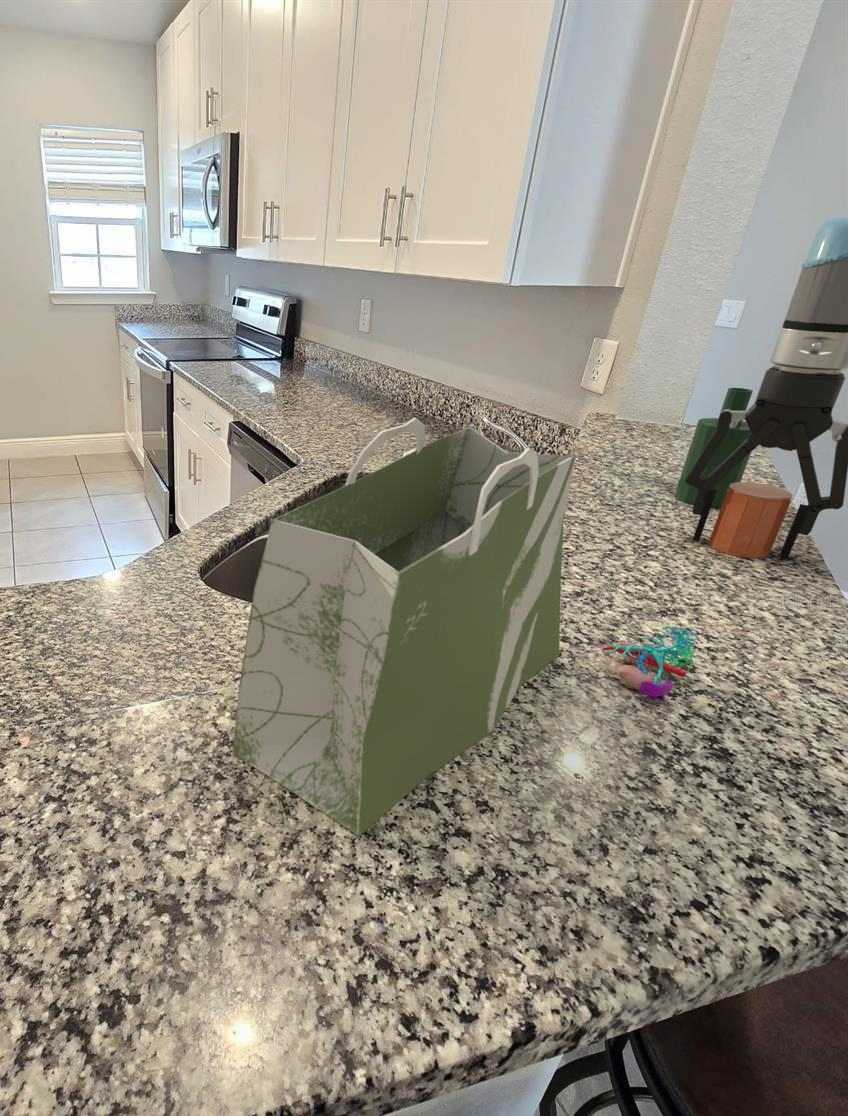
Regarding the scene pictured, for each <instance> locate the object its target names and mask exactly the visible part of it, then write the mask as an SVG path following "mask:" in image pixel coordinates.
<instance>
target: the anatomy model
mask: <svg viewBox="0 0 848 1116" xmlns="http://www.w3.org/2000/svg"><path fill="white" fill-rule="evenodd" d="M661 629H662V630H664V631H665V632H664V635H663V637H660V636H659V632H656V633H655V637H656V638H658V640H659V641H660V642H659V641H657V640H656V639H654V638H653V637H652V636H651V638H650V637H649V638H648V637H645V636H644V637H642V639H643V640H649V641H652V642H654V643H649V642H647V643H644V642H642V646H640V645H639V644H636V643H633V642H630V641H618V642H617V643H616V644H615V643H611V642H608V641H604V642H603V643H604V646H606V647H603V648H602V650H601V651H602V652H603V651H604V652H605V651H606V653H607V654H609V653H612V652H617V653H618V654H620V655H621V656H622V658H623V659H624V660H628V661H629V662H631V663H632V664H635V665H636V666H635V665H628V664H623V665H620V666H619V667H618V668H617V673H618V675H619V677H620V678H621V679H623V681H624V682H626V683H628V684H629V685H631V686H633V687H634V688H636V689H639V690H640V691H641V692H642V693H643V694H644V695H645V696H647V697H649V698H657V697H663V696H665V695H666V694H668V692H669V691H670V690H672V689H673V687H674V686H675V683H674V682H672V681H671V680H668V679H665V680H664V681H663V682H662V677H661V675H662V674H664V675H665V674H666V672H668V673H670V674H674V675H676V676H678V677H680V678H682V679H684V678H685V677H686V673H687V672H686V671H685V670H682V665H684V664H691V663H693V661H692V659H693V658H696V656H695V655H694V654H695V653H696V651H697V650H696V649H692V648H694V646H696V645H697V643H696V642H695V641H698V640H699V639H698V638H691V639H690V637H695V636H696V637H699V635H697V634H695V633H694V632H693V631H694V630H693V629H691V630H689V631H688V630H687V631H686V629H687V628H686V627H685V628H682V627H677V628H676V627H674V626H672V627H671V626H668V625H666V626H663V627H662V628H661ZM668 629H671V631H669V630H668ZM666 633H668V634H669V635H670V637H671V639H673V640H675V642H672V645H671V646H669V647H668V646H667V645H665V641H663V640H664V639H665V638H666V637H667V636H668V635H667V634H666ZM655 643H656V644H655ZM680 657H681V658H680ZM668 661H670V662H668ZM647 669H648V670H649V671H648V670H647ZM651 669H652V670H658V671H657V672H658V673H656V672H654V671H650V670H651Z"/></svg>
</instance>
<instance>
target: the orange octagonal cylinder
mask: <svg viewBox="0 0 848 1116" xmlns="http://www.w3.org/2000/svg"><path fill="white" fill-rule="evenodd" d="M792 498H793V493H792V492H791V491H788V490H787V489H784V488H781V487H778V486H774V485H770V484H764V483H758V482H750V481H749V482H748V481H741V482H736V483H731V484H730V485H729V487H728V490H727V492H726V495H725V498H724V501H723V504H722V506H721V508H719V512H718V515H717V518H716V520H715V524H714V526H713V530H712V532H711V534H710V537H709V541H708V543H707V544H708V545H709V546H710V547H712V548H713V549H714V550H716V551H720V552H722V553H724V554H726V555H731V556H736V557H740V558H745V559H762V558H763V559H764V558H767V557H769V556H770V554H771V551H772V549H773V546H774V543H775V541H776V539H777V536H778V534H779V531H780V529H781V527H782V524H783V522H784V519H785V517H786V515H787V512H788V509H789V507H790V505H791V502H792Z"/></svg>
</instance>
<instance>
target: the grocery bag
mask: <svg viewBox="0 0 848 1116" xmlns="http://www.w3.org/2000/svg"><path fill="white" fill-rule="evenodd" d="M409 432H411V433H413V434H414V435H415V439H416V441H415V442H416V445H415V450H414V451H412V452H410V453H408V454H407V455H404V456H402V457H401V458H399V459H396V460H395V461H393V462H391V463H388V464H387V465H385V466H382V467H381V468H379V469H377V470H374V471H372V472H370V473H369V474H366V475H365V476H363V477H360V478H358V474H359V472H360V471H361V469H362V468H363V465H365V464H364V463H366V461H367V459H368V458H369V457H370V456H371V455H372V454H373V453H374V452H375V451H376V450H377V449H378V448H379V447H380V446H381V445H382V444H383V443H385V442H387V441H388V440H389V439H392V438H393V437H395V436H397V435H399V434H404V433H409ZM576 459H577V455H570V454H569V455H567V454H565V455H564V454H545V453H543V454H541V453H535V452H534V451H533V450H532V449H531V448H528V447H527V448H526V449H524V451H523V452H521V453H518V452H508V451H506V450H505V449H503V448H502V447H501V446H499V445H498V444H496V443H495V442H493V441H491V440H490V439H489V438H487V437H486V436H484V435H483V434H481V433H480V432H478V431H477V430H476V429H474V428H473V427H472V426H471V427H470V426H469V427H466V428H464V429H462V430H459V431H456V432H454V433H451V434H448V435H446V436H443V437H441V438H438V439H435V440H433V441H431V442H429V443H427V444H426V425H425V424H424V423H423V421H421V420H419V419H418V418H417V417H413V418H411V419H410V420H408V421H407V422H406V423H404V424H402V425H398V426H395V427H392V428H387V429H384V430H381V431H379V432H378V434H376V436H375V437H373V439H372V440H371V441H370V442H369V443H368V444H367V445H366V446H365V447H363V449H362V450H361V451H360V453H359V455H358V457H357V458H356V460H355V462H354V464H353V466H352V467H351V469H350V471H349V472H348V475H347V477H346V481H345V484H344V485H343V486H342V487H340V488H338V489H335V490H333V491H331V492H329V493H327V494H325V495H322V496H320V497H318V498H316V499H314V500H312V501H310V502H308V503H305V504H303V505H301V506H299V507H297V508H295V509H292V510H290V511H288V512H286V513H284V514H282V515H280V516H277V517H275V518H274V519H273V518H272V520H271V523H270V527H269V531H268V534H267V539H266V542H265V546H264V550H263V554H262V558H261V562H260V566H259V569H258V572H257V577H256V580H255V584H254V589H253V592H252V599H251V608H250V613H249V620H248V625H247V631H246V632H247V633H246V637H245V638H246V639H245V645H244V651H243V652H244V653H243V658H242V664H241V671H240V678H239V687H238V697H237V704H236V706H237V707H236V715H235V725H234V733H233V734H234V735H233V743H232V754H234V755H235V756H236V757H238V758H240V759H241V760H243V761H244V762H246V763H247V764H248V765H251V767H253V768H255V769H256V770H257V771H260V772H261V773H263V775H265V776H267V777H268V778H270V779H272V780H273V781H274V782H276V783H277V784H279V785H281V786H282V787H284V788H285V789H286V790H288V791H289V792H291V793H292V794H294V795H295V796H297V797H299V798H300V799H302V800H303V801H305V802H306V803H308V804H309V805H311V806H312V807H314V808H315V809H317V810H319V811H320V812H321V813H323V814H324V815H326V816H328V817H329V818H331V819H332V820H334V821H335V822H336V823H338V824H340V825H341V826H342V827H344V828H346V829H347V830H349V831H351V832H352V833H354V834H355V835H356V836H358V837H360V836H361V835H362V834H363V833H364V832H366V830H368V829H369V828H370V827H372V826H373V824H375V823H376V822H377V821H378V820H380V818H382V817H383V816H385V814H387V812H389V811H390V810H391V809H392V808H393V807H395V806H396V805H397V804H398V803H400V801H402V800H403V799H404V798H405V797H406V796H407V795H408V794H410V793H411V792H412V791H413V790H414V789H415V788H416V787H418V786H419V785H420V784H421V783H423V781H424V780H425V779H427V778H428V777H429V776H431V775H433V774H434V773H435V772H436V771H438V770H439V769H441V768H442V767H443V766H445V765H447V764H449V762H451V761H453V759H454V760H455V758H457V757H458V756H460V755H461V754H462V753H464V752H465V751H467V750H468V749H470V748H472V747H473V746H474V745H475V744H477V743H478V742H479V741H481V740H483V739H484V738H486V737H487V736H488V735H490V734H491V732H492V731H493V729H494V728H495V726H496V725H497V723H498V722H499V720H500V719H501V717H502V716H503V714H504V712H505V711H506V710H507V708H508V706H509V705H510V704H511V702H512V700H513V699H514V697H515V696H516V694H517V693H518V691H519V690H520V688H521V687H522V685H524V684H525V683H526V682H528V681H529V680H531V678H533V677H534V676H535V675H537V674H538V673H539V672H541V671H542V670H544V668H545V667H547V666H548V665H550V664H551V663H552V662H553V661H555V660H556V659H557V658H559V656H560V638H561V637H560V633H561V632H560V629H561V628H560V627H561V625H560V624H561V585H562V563H563V544H564V543H563V542H564V541H563V540H564V522H565V516H566V510H567V505H568V499H569V495H570V490H571V484H572V479H573V474H574V468H575V463H576ZM357 478H358V479H357Z"/></svg>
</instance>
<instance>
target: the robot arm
mask: <svg viewBox="0 0 848 1116" xmlns="http://www.w3.org/2000/svg"><path fill="white" fill-rule="evenodd" d="M801 265H802V266H801V271H800V273H799V277H798V280H797V282H796V286H795V289H794V291H793V294H792V297H791V300H790V302H789V306H788V308H787V312H786V315H785V317H784V321H783V323H782V327H781V328H780V331H779V333H778V337H777V340H776V342H775V345H774V348H773V351H772V353H771V357H770V359H769V362H770V363H771V364H773V365H772V367H769V368H768V369H766V370H765V373H764V376H763V378H762V381H761V384H760V387H759V389H758V392H757V395H756V398H755V401H754V403H753V405H751V407H750V408H748V409H747V410H746V411H732V410H731V409H724V410H723V411H722V412H721V411H720V412H721V414H720V413H719V415H720V417H719V416H718V418H719V422H718V427H717V430H716V432H715V433H714V435H713V436H712V438H711V440H710V441H709V443H708V444H707V446H706V448H705V449H704V451H703V452H702V454H701V456H700V457H699V459H698V460H697V462H696V464H695V465H694V467H693V468H692V470H691V471H690V473H689V475H688V476H687V478H686V483H687V484H688V485H692V486H694V487H696V488H697V489H698V494H697V497H696V500H695V503H694V505H692V510H691V511H692V514H693V515H698V516H700V517H699V519H698V522H697V525H696V529H695V531H694V535H693V537H692V541H695V542H700V539H701V537H702V535H703V531H704V528H705V526H706V523H707V520H708V517H709V514H710V511H711V509H712V508H711V506H712V503H713V500H714V497H715V494H716V492H717V490H714V489H712V488H713V487H714V486H715V485H716V484H717V483H718V482H719V481H720V480H721V479H722V478H723V477H724V476H726V475H727V474H728V473H729V472H730V471H731V470H732V469H733V468H734V467H735V466H736V465H737V464H738V463H739V462H741V461H742V460H743V459H744V458H745V457H746V456H747V455H748V454H749V453H750V452H751V453H752V452H753V451H754V450H755V449H757V448H758V447H759V446H761V448H765V449H773V448H775V449H776V448H778V449H780V450H783V451H786V452H787V451H788V452H793V451H796V455H797V459H798V463H799V467H800V472H801V477H802V481H803V487H804V490H805V495H806V499H807V503H808V504H804V503H803V504H802V503H800V504H799V506H798V509H797V511H796V513H795V516H794V519H793V521H792V523H791V526H790V528H789V530H788V532H787V536H786V538H785V540H784V542H783V545H782V548H781V550H780V555H779V558H780V559H782V560H788V559H789V557H790V554H791V552H792V550H793V547H794V545H795V543H796V541H797V538H798V535H799V534H800V535H805V536H808V535H809V534H810V533H811V532H812V530H813V528H814V525H815V524H816V521H817V519H818V516H819V514H820V513H821V512H822V511H824V510H831V509H832V510H840V509H841V508H843V506H844V501H845V493H846V487H847V486H846V485H847V478H848V423H847V422H843V421H839V420H834V419H833V414H832V413H833V409H834V407H835V405H836V402H837V399H838V397H839V395H840V393H841V390H842V387H843V385H844V383H845V380H846V376H845V374H844V373H843V372H842V371H844V370H847V369H848V216H845V217H836V218H832V219H829V220H827V221H825V222H824V223H823V224H822V225H821V226H820V227H819V228H818V230H817V232H816V234H815V236H814V240H813V242H812V244H811V246H810V249H809V251H808V254H807V256H806V259H805V261H804V262H803V263H802V264H801ZM740 421H745V422H747V425H748V427H749V429H750V431H751V433H752V434H751V435H750V436H749V437H748V438H747V439H746V440H745V441H744V442H743V443H742V444H741V445H740V446H739V447H738V448H737V449H736V450H735V451H734V452H733V453H732V454H731V455H730V456H729V457H728V458H727V459H726V460H724V461H723V462H722V463H721V464H720V465H719V466H718V467H717V468H716V469H715V470H714V471H713V472H712V473H711V474H710V475H709V476H708V477H707V478H704V477H702V476H700V475H701V473H702V472H703V470H704V469H705V467H706V466H707V464H708V463H709V461H710V459H711V458H712V456H713V455H714V453H715V452H716V450H717V448H718V447H719V445H720V444H721V442H722V441H723V439H724V438H725V436H726V434H727V432H728V430H729V428H730V429H731V428H735V427H736V426H737V425H738V423H739V422H740ZM828 431H830V432H831V433H832V434H831V439H832V440H833V441H834V442H836V444H835V449H834V457H833V466H832V474H831V483H830V492H829V495H828V496H821V491H820V486H819V480H818V477H817V476H818V475H817V471H816V467H815V463H814V458H813V453H812V447H811V442H812V441H814V440H815V439H817V438H819V437H820V436H821V435H823V434H824V433H826V432H828Z"/></svg>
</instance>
